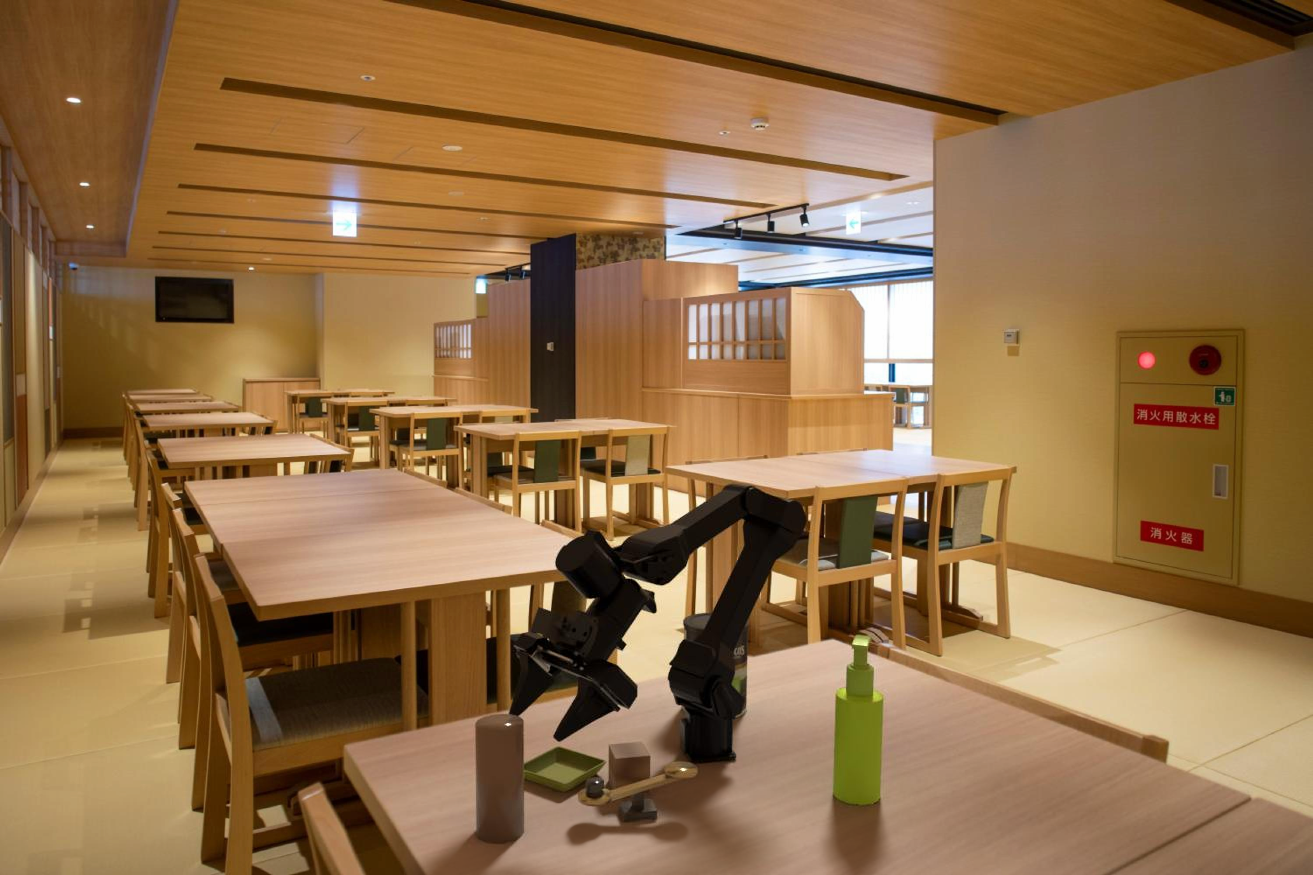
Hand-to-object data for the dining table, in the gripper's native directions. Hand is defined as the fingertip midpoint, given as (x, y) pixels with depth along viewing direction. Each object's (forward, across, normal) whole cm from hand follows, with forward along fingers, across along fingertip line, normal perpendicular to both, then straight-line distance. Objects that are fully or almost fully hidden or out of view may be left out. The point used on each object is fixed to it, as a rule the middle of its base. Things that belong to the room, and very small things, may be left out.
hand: (533, 727), depth 113 cm
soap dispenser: (-17, +21, +33) cm, 43 cm away
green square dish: (+2, -7, +15) cm, 17 cm away
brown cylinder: (+11, 0, +5) cm, 12 cm away
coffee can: (-22, -11, +38) cm, 45 cm away
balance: (+1, +7, +15) cm, 17 cm away
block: (-2, +1, +18) cm, 18 cm away
